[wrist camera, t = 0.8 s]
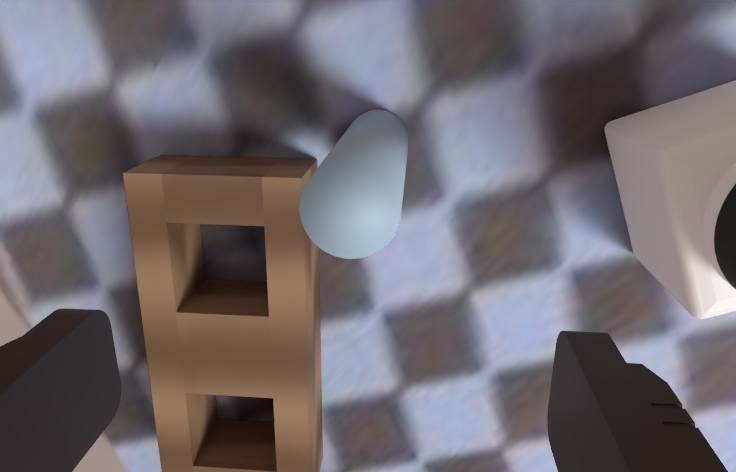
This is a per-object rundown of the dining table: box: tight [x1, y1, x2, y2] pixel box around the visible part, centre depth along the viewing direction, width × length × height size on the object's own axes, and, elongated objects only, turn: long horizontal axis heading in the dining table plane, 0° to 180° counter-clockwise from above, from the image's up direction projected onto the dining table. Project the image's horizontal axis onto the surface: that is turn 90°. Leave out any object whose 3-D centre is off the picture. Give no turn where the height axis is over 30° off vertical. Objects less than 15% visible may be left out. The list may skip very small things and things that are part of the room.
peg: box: [299, 109, 409, 259], centre depth 23 cm, size 3×3×12 cm
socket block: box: [123, 155, 323, 472], centre depth 30 cm, size 18×8×4 cm, turn 179°
